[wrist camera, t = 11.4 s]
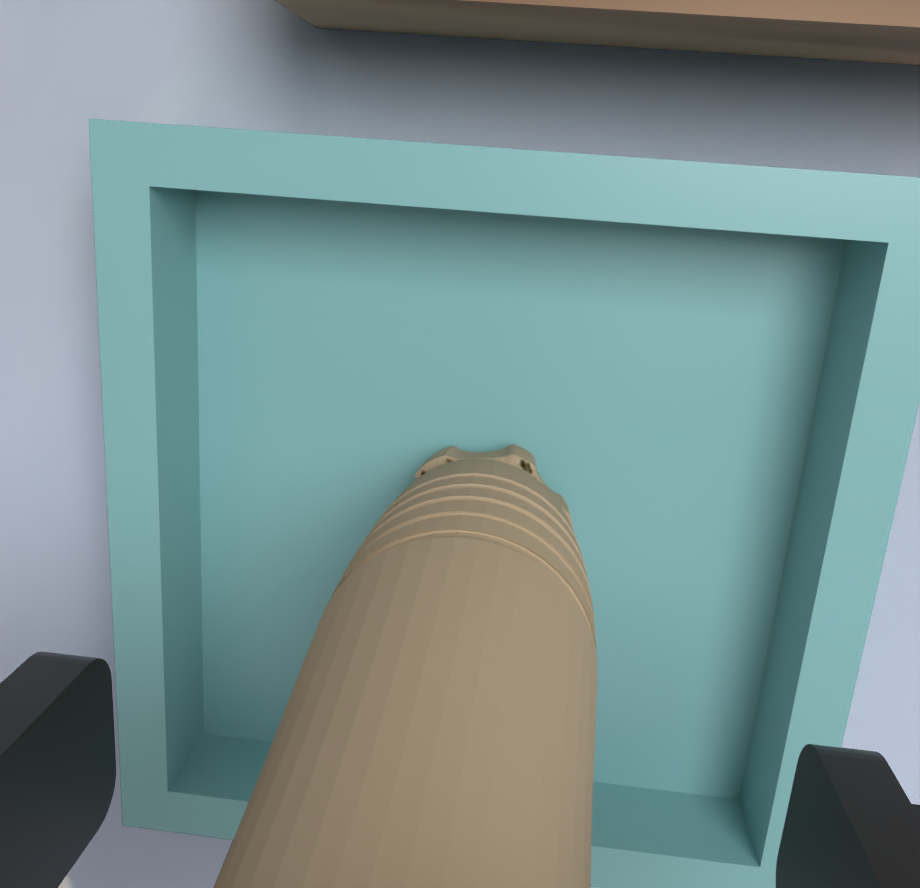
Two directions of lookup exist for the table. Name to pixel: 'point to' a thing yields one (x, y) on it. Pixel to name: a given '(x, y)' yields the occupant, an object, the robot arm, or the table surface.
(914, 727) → the table surface
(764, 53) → the socket block
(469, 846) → the handle
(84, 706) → the robot arm
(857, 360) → the tray
